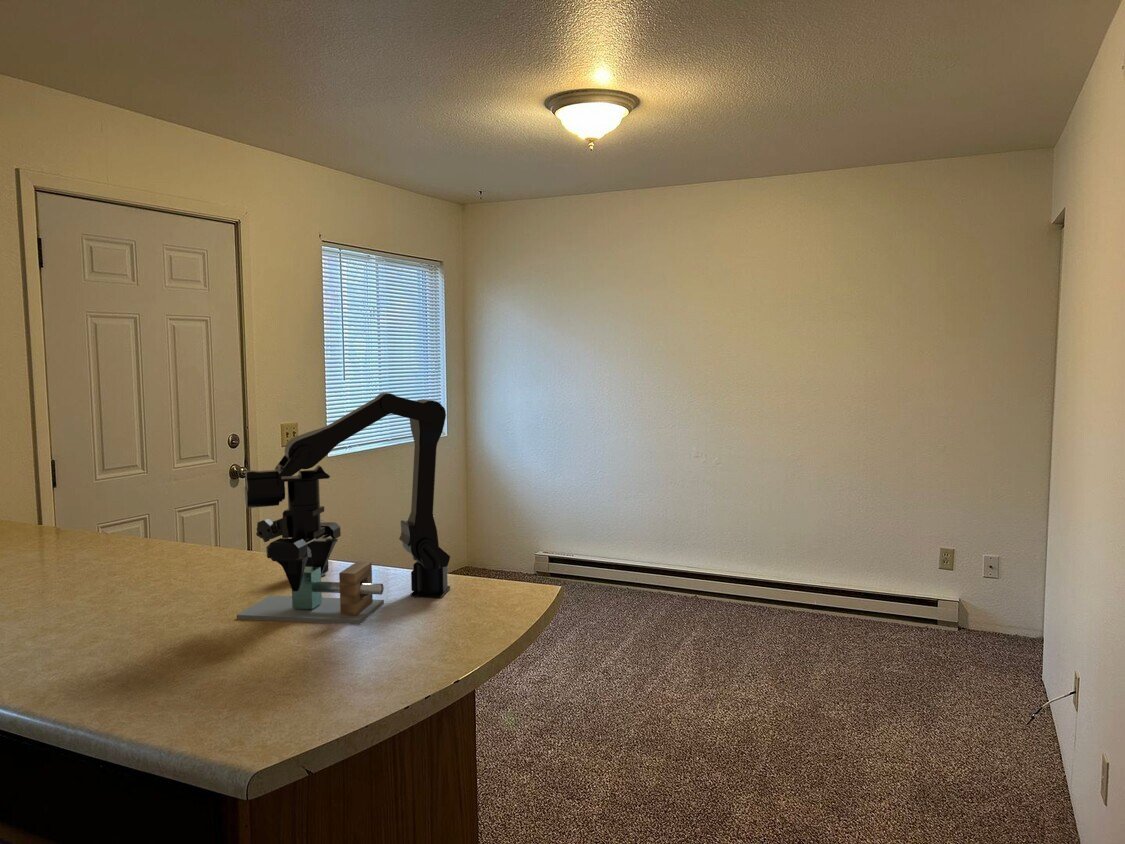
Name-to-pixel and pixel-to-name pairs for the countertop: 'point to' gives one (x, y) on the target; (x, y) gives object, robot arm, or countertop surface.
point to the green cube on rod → (323, 589)
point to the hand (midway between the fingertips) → (307, 583)
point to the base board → (304, 611)
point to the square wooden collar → (354, 588)
